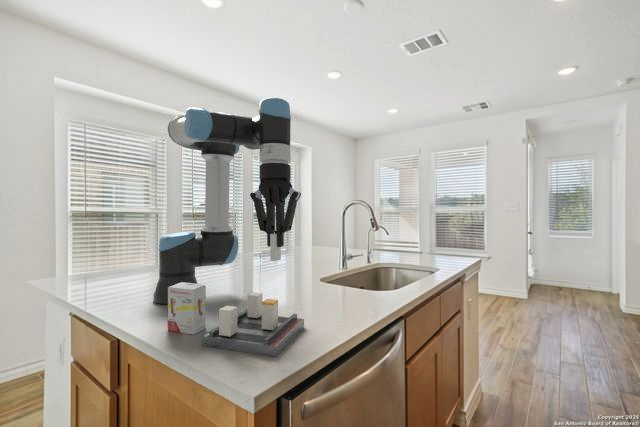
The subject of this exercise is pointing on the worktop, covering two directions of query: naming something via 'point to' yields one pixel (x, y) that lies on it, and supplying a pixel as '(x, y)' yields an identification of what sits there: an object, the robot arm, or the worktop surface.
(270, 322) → the block
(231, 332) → the block
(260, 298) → the block
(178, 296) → the ink box
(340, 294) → the worktop surface
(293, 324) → the panel
